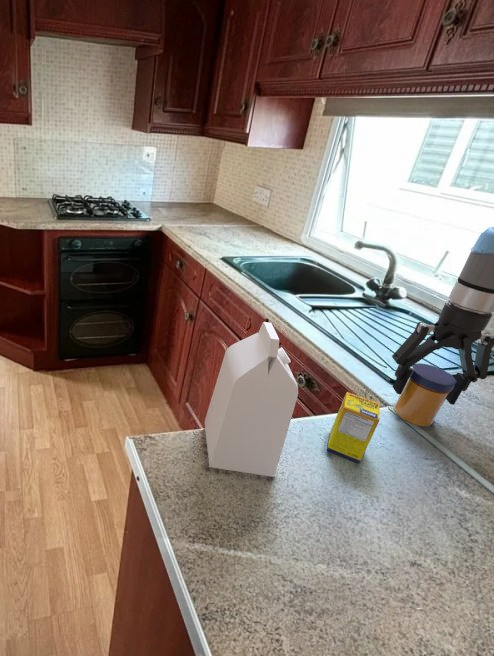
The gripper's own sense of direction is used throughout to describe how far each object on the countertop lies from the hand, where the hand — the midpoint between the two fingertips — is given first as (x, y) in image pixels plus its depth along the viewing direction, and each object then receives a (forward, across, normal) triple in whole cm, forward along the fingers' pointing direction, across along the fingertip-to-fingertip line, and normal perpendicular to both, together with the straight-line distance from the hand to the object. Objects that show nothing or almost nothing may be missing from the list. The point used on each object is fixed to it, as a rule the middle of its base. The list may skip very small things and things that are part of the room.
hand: (422, 395), depth 90 cm
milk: (+6, +41, +23) cm, 47 cm away
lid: (-5, 0, 0) cm, 5 cm away
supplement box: (+6, +19, +17) cm, 26 cm away
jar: (+6, 0, 0) cm, 6 cm away
